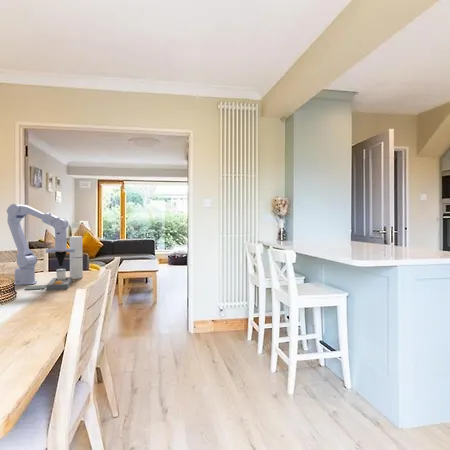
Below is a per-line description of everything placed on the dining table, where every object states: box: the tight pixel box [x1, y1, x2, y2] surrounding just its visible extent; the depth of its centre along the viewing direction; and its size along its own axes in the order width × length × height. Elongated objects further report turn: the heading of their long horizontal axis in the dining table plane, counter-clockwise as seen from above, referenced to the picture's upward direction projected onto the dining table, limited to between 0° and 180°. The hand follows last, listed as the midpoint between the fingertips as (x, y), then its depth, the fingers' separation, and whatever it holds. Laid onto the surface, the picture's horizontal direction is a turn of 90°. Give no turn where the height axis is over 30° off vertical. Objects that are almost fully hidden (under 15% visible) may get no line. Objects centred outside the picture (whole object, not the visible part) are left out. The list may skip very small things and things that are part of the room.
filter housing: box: [45, 276, 73, 291], centre depth 195 cm, size 10×22×2 cm, turn 17°
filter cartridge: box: [55, 268, 67, 280], centre depth 199 cm, size 5×5×8 cm
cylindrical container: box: [69, 235, 84, 280], centre depth 218 cm, size 7×7×25 cm
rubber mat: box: [24, 284, 47, 291], centre depth 188 cm, size 9×9×1 cm
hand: (60, 265), depth 198 cm, fingers closed
